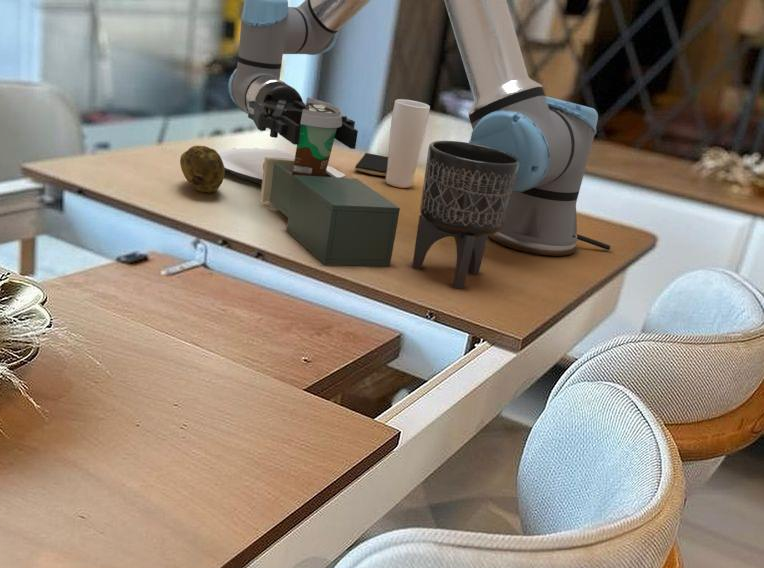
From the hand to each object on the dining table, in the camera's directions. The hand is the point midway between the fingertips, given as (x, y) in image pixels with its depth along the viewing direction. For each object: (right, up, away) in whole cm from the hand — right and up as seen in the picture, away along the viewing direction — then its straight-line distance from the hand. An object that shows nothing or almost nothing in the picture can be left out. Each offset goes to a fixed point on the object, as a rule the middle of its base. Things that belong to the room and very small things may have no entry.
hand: (326, 137), depth 153 cm
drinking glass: (+13, +7, +43) cm, 45 cm away
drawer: (-5, -7, +12) cm, 15 cm away
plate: (-11, +6, +34) cm, 36 cm away
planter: (+18, -22, -3) cm, 29 cm away
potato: (-21, -3, +16) cm, 27 cm away
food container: (-2, -3, +7) cm, 8 cm away
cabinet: (+2, -17, 0) cm, 17 cm away
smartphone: (+9, +13, +52) cm, 54 cm away
